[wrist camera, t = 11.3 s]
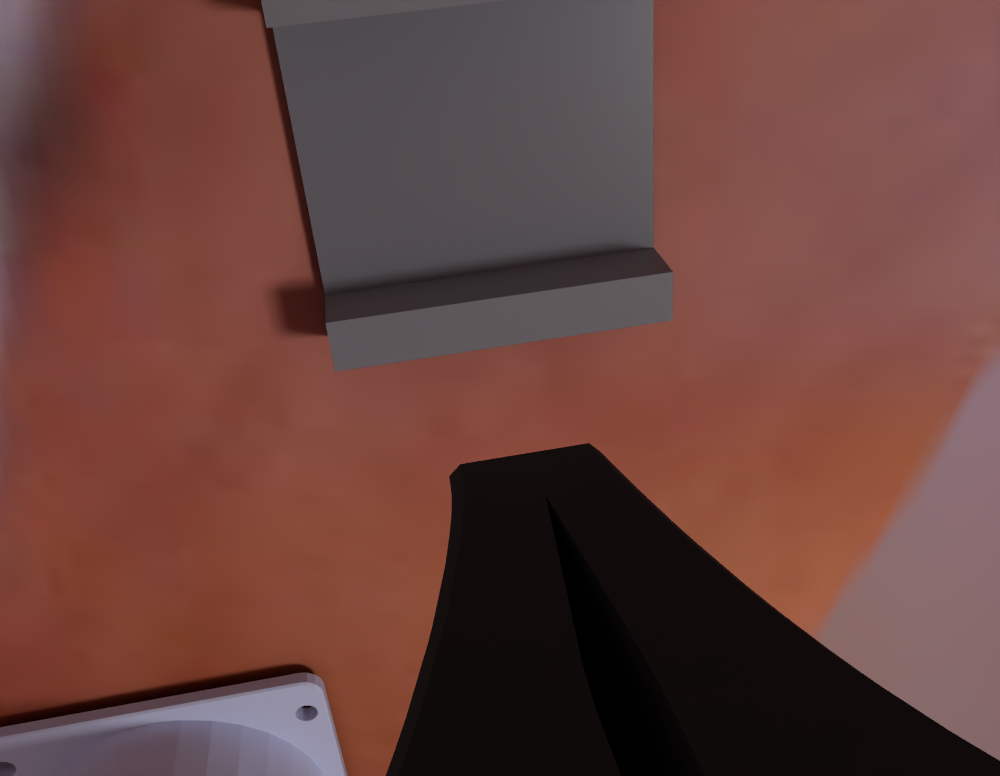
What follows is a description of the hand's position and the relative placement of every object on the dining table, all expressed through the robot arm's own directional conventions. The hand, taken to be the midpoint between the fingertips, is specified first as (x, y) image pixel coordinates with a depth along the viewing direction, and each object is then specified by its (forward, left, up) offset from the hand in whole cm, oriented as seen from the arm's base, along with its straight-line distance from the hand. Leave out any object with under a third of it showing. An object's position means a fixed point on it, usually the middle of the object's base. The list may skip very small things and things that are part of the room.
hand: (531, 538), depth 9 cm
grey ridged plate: (+1, -1, -10) cm, 10 cm away
